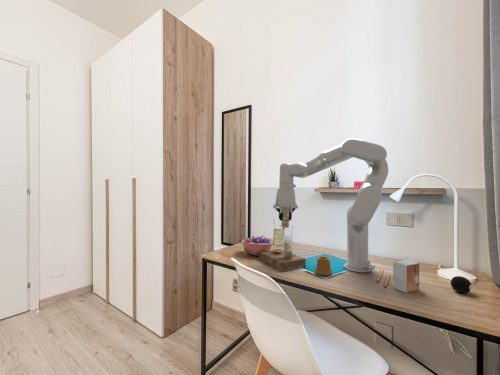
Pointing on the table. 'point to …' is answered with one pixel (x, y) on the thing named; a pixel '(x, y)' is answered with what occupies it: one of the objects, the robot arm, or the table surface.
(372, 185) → the robot arm
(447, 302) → the table surface
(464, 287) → the billiard ball
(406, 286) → the small box
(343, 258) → the table surface
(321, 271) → the ornamental finial
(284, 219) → the birch leg
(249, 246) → the cell model
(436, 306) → the table surface
